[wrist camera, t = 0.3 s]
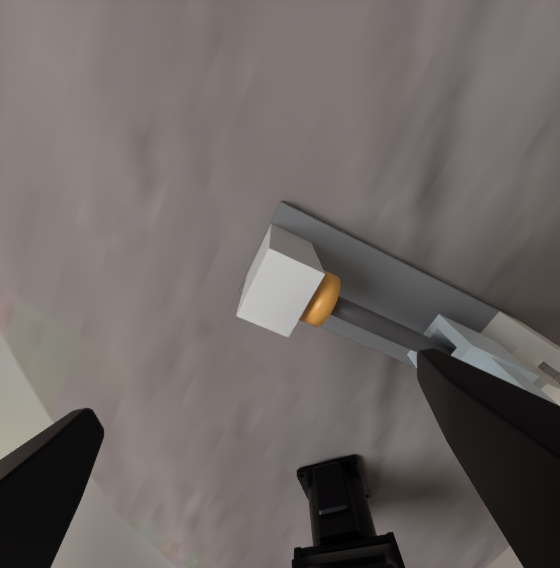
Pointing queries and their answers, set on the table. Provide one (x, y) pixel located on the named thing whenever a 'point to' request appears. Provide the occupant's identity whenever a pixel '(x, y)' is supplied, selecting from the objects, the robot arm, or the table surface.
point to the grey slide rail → (370, 296)
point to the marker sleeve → (482, 354)
